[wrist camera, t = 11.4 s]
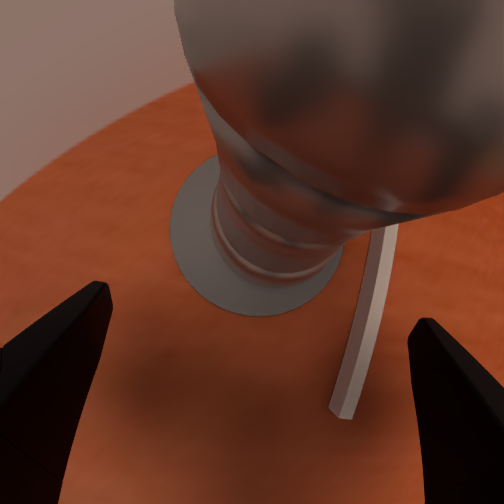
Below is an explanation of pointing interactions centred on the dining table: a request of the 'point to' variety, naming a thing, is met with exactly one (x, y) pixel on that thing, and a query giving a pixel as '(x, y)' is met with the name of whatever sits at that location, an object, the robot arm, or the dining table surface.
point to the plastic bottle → (342, 120)
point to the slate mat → (212, 265)
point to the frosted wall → (365, 322)
